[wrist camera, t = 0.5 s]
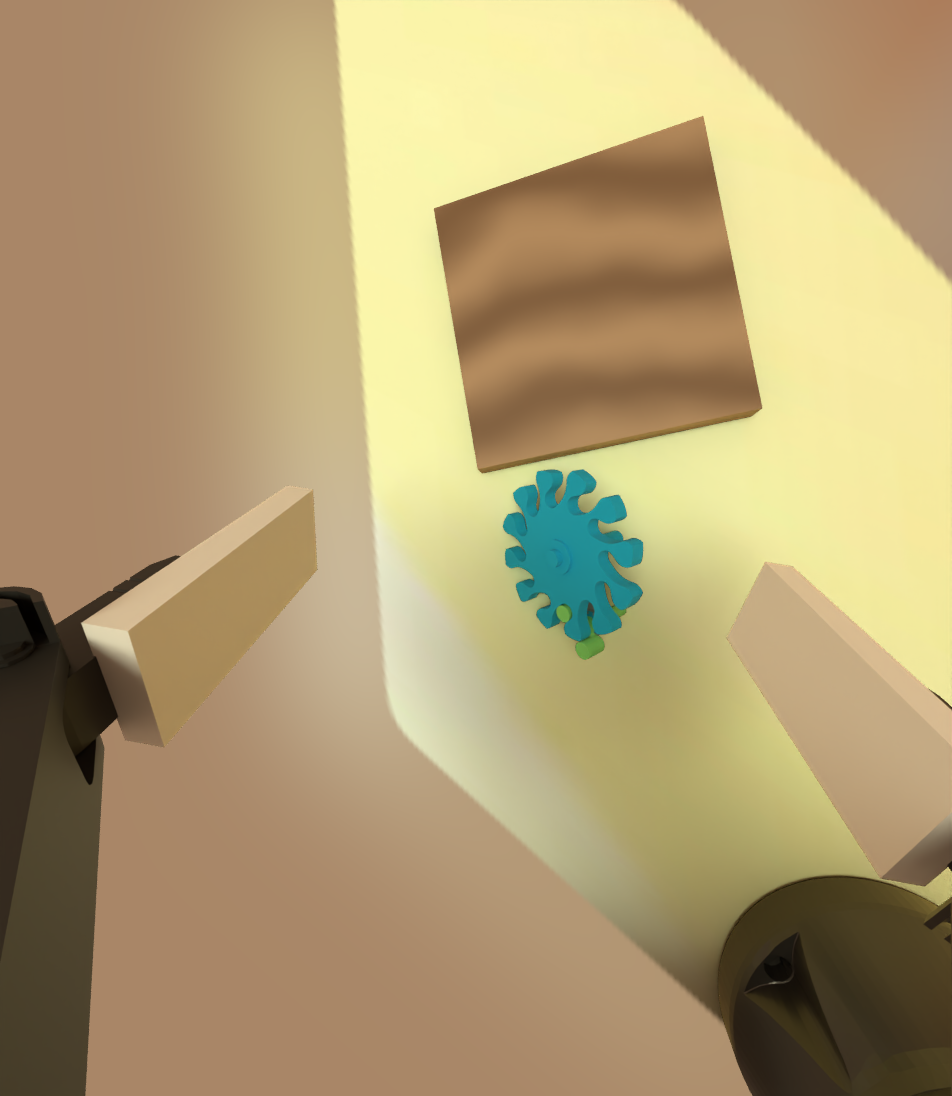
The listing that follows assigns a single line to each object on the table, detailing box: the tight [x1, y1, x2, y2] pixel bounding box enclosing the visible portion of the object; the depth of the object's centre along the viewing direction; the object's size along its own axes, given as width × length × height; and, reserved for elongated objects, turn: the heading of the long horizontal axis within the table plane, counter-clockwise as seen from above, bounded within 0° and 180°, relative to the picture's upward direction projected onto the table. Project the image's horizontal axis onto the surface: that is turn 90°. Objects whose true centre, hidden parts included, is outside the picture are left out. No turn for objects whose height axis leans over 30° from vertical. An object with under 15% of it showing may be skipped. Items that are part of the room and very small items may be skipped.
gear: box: [503, 470, 643, 660], centre depth 26 cm, size 11×6×10 cm
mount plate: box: [434, 116, 762, 473], centre depth 28 cm, size 18×17×2 cm
